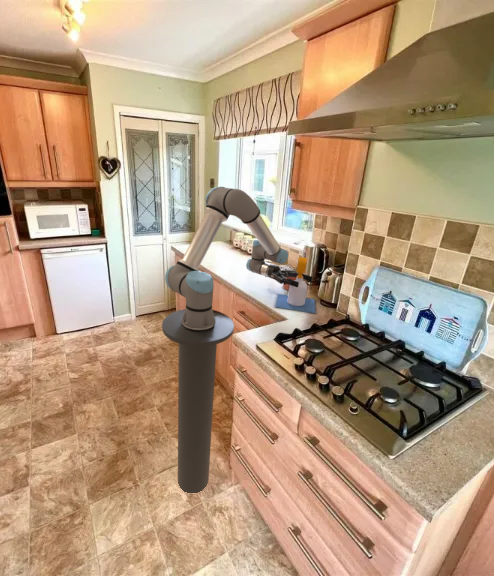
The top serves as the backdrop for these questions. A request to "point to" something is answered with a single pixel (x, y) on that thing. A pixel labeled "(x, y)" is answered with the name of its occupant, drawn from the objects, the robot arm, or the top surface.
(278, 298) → the blue mat
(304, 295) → the soap bottle
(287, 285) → the terracotta cup
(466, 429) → the top surface
